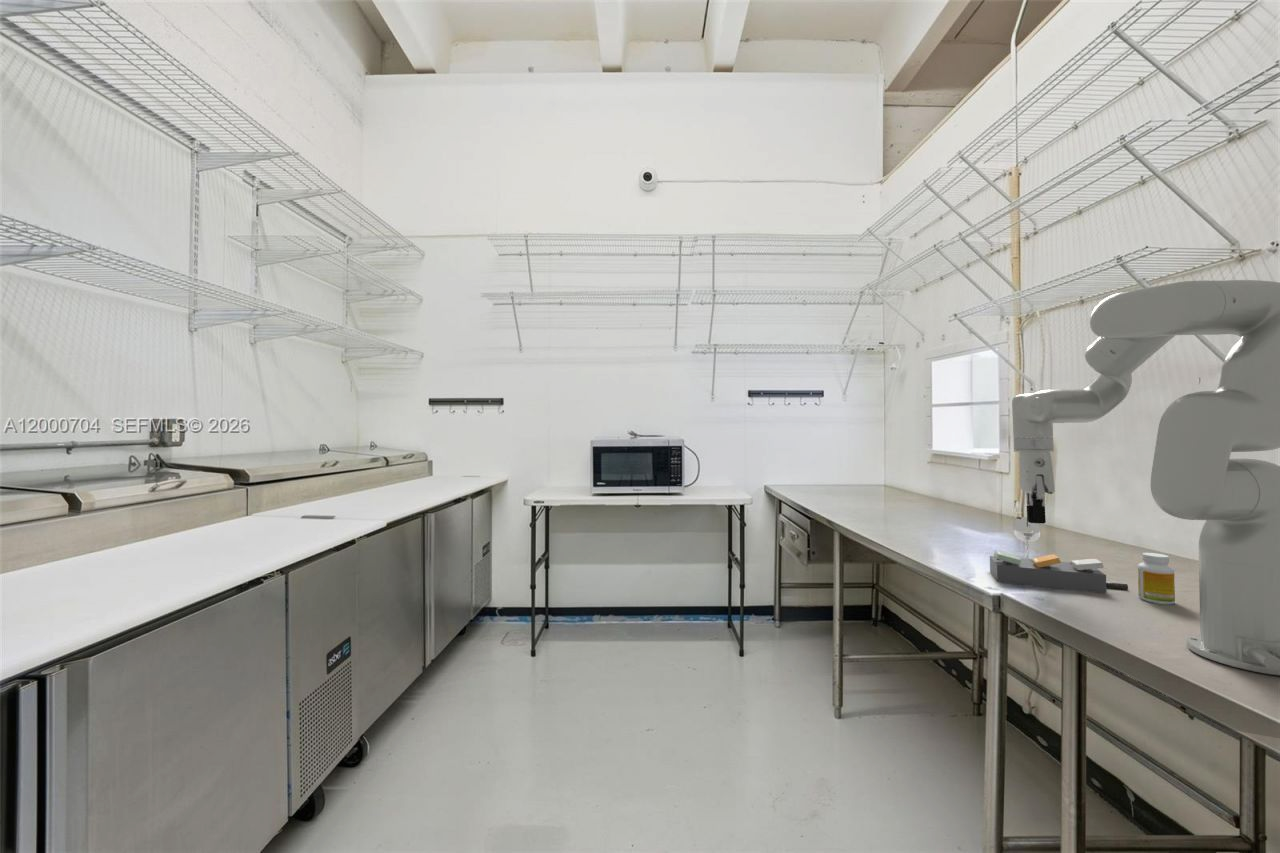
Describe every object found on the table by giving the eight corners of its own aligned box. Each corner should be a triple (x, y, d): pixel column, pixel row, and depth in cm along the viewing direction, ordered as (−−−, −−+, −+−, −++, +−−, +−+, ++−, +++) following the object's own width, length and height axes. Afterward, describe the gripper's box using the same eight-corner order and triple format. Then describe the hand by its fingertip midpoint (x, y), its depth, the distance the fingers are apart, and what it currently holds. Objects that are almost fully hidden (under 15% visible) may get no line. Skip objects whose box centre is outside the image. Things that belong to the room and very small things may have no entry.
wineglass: (1017, 558, 141) (1016, 516, 141) (1043, 562, 137) (1042, 518, 137) (1011, 562, 138) (1010, 518, 138) (1037, 566, 133) (1036, 521, 133)
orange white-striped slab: (1061, 562, 116) (1058, 557, 116) (1037, 567, 118) (1035, 562, 118) (1055, 558, 119) (1053, 553, 120) (1033, 563, 121) (1031, 558, 122)
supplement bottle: (1182, 605, 103) (1181, 558, 103) (1151, 604, 104) (1150, 557, 104) (1161, 597, 108) (1160, 552, 108) (1131, 595, 109) (1130, 551, 110)
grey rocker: (1103, 568, 112) (1101, 562, 113) (1077, 570, 114) (1076, 564, 115) (1097, 563, 116) (1095, 558, 116) (1072, 565, 118) (1070, 560, 118)
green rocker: (1019, 564, 119) (1021, 559, 119) (996, 558, 121) (997, 553, 121) (1016, 560, 123) (1017, 555, 123) (993, 555, 125) (994, 550, 125)
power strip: (1136, 596, 109) (1136, 575, 109) (997, 581, 120) (996, 563, 120) (1118, 583, 118) (1117, 564, 118) (990, 571, 129) (989, 554, 129)
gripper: (1062, 445, 111) (1066, 528, 111) (1044, 445, 125) (1047, 519, 124) (1020, 445, 115) (1024, 526, 114) (1007, 445, 128) (1010, 517, 127)
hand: (1036, 522), depth 119 cm, fingers closed
